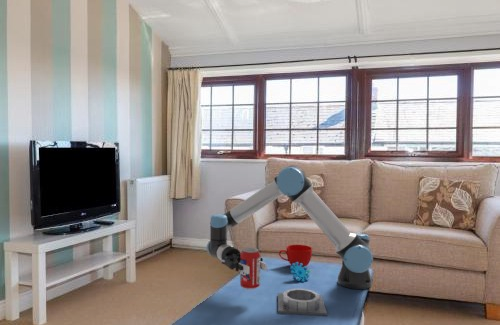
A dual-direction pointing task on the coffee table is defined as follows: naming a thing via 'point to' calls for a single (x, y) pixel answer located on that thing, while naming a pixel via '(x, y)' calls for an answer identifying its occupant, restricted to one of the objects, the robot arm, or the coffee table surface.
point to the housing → (301, 302)
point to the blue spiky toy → (300, 272)
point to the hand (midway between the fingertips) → (257, 268)
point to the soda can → (253, 261)
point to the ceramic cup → (298, 254)
